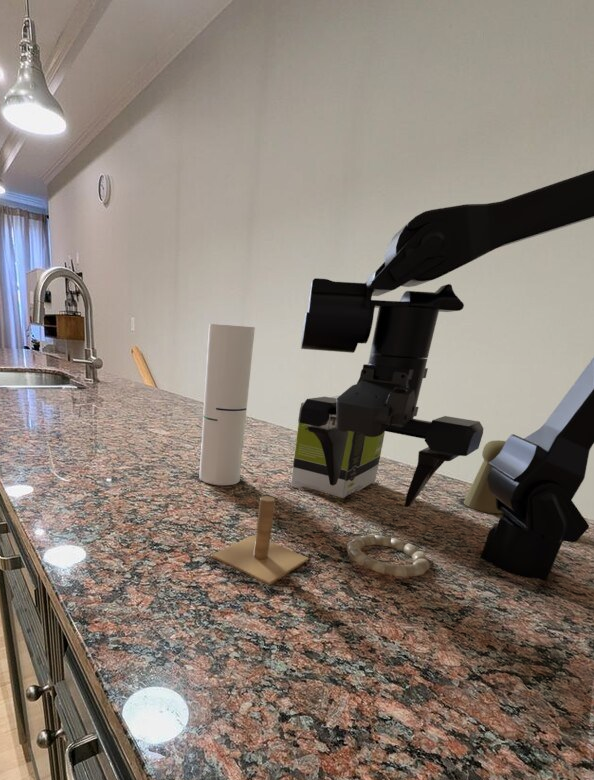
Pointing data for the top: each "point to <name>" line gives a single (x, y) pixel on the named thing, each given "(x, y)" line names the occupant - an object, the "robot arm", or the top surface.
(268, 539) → the post
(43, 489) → the top surface
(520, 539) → the robot arm
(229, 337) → the cylindrical container
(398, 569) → the bracelet
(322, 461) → the tea box
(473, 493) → the game pawn
